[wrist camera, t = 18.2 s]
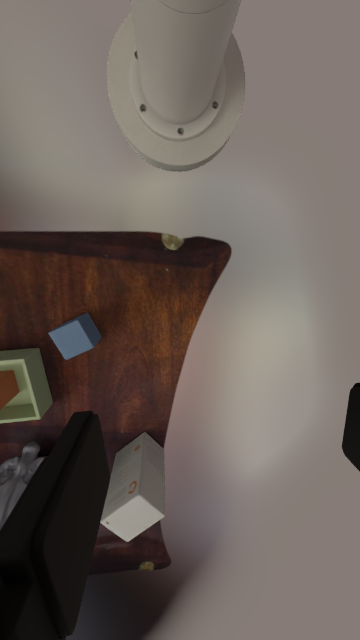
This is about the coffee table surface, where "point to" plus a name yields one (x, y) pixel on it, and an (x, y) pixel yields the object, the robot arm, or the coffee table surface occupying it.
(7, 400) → the terracotta block
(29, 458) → the ornament
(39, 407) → the sage bin
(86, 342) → the blue block
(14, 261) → the coffee table surface
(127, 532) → the small box
